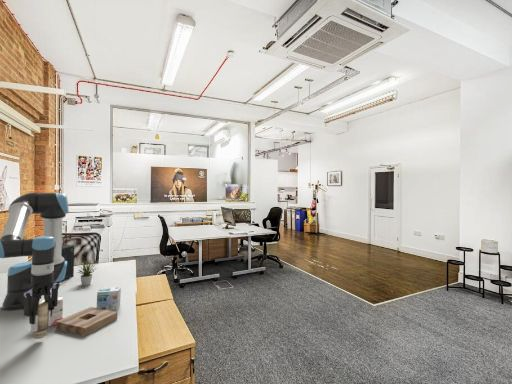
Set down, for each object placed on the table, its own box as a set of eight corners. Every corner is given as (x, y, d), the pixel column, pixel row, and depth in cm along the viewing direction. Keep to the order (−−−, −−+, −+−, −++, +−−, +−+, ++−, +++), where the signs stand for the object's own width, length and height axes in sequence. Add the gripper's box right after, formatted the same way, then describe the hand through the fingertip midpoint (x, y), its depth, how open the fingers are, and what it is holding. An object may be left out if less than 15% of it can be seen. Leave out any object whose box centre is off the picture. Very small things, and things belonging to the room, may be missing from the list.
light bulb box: (95, 312, 144) (96, 292, 144) (99, 307, 150) (100, 288, 151) (117, 310, 147) (118, 290, 147) (120, 305, 153) (121, 286, 153)
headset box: (51, 286, 183) (52, 248, 184) (34, 285, 184) (35, 247, 184) (74, 276, 206) (75, 242, 206) (59, 276, 206) (60, 242, 207)
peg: (31, 338, 113) (32, 304, 113) (42, 333, 117) (43, 300, 117) (38, 340, 112) (39, 306, 112) (49, 335, 116) (50, 302, 116)
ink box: (62, 319, 134) (63, 296, 135) (62, 323, 130) (63, 299, 131) (40, 324, 130) (41, 299, 130) (39, 328, 126) (40, 302, 126)
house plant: (104, 281, 195) (105, 259, 195) (90, 287, 181) (91, 263, 181) (86, 280, 196) (86, 258, 197) (71, 286, 182) (72, 262, 183)
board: (55, 329, 125) (55, 321, 125) (90, 313, 142) (90, 306, 142) (84, 336, 119) (85, 328, 120) (117, 318, 137) (117, 311, 137)
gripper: (25, 280, 105) (23, 340, 105) (68, 268, 122) (67, 320, 122) (12, 277, 107) (10, 336, 107) (57, 267, 124) (55, 317, 124)
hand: (40, 327), depth 114 cm, fingers closed on peg, 4 cm apart
